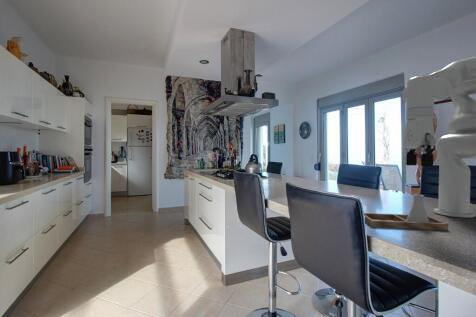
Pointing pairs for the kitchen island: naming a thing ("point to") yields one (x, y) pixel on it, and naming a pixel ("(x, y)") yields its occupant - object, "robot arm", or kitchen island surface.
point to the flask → (418, 210)
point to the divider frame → (402, 222)
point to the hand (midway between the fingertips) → (418, 165)
